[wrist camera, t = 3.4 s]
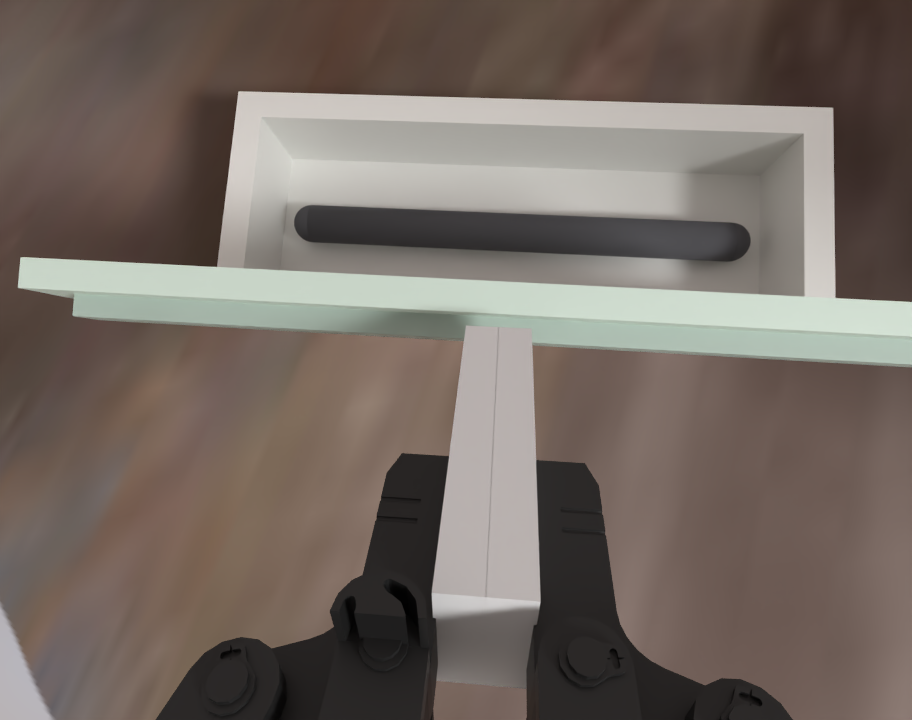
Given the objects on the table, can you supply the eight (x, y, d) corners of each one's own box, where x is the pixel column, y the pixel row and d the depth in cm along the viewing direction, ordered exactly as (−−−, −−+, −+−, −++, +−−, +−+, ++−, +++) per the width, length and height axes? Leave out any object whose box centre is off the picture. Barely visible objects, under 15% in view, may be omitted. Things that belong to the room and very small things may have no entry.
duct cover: (1098, 311, 13) (1097, 372, 13) (835, 342, 23) (834, 376, 23) (20, 257, 15) (15, 310, 15) (212, 307, 25) (209, 339, 25)
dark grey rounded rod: (740, 231, 28) (757, 217, 26) (740, 267, 27) (757, 255, 26) (303, 212, 29) (290, 198, 27) (299, 246, 29) (286, 234, 27)
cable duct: (775, 162, 29) (833, 107, 24) (774, 356, 28) (835, 340, 23) (279, 145, 31) (238, 91, 26) (259, 327, 30) (212, 306, 25)
